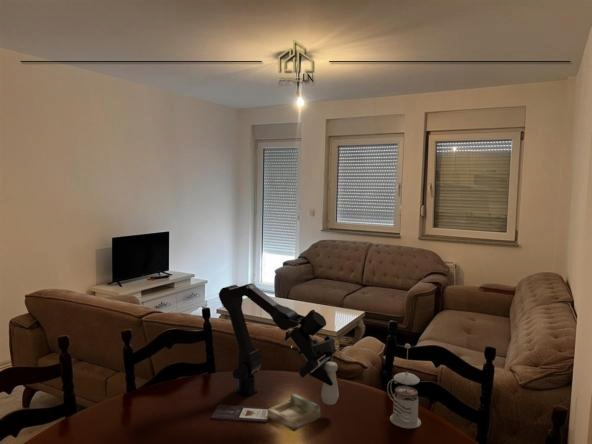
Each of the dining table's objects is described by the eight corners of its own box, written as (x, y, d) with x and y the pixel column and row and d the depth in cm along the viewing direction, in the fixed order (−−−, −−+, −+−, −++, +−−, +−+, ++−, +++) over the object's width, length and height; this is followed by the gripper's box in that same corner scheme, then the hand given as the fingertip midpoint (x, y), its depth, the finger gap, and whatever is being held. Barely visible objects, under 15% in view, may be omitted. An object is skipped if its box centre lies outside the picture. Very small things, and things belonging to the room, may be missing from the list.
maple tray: (267, 416, 138) (267, 404, 138) (293, 404, 147) (294, 393, 146) (293, 431, 130) (293, 418, 130) (319, 417, 138) (320, 405, 138)
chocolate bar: (218, 404, 145) (271, 407, 143) (218, 407, 145) (271, 410, 143) (210, 417, 136) (266, 421, 134) (210, 420, 136) (266, 424, 134)
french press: (409, 431, 131) (412, 351, 130) (379, 417, 139) (381, 341, 138) (427, 421, 137) (429, 344, 136) (396, 407, 146) (399, 335, 145)
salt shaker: (326, 407, 136) (327, 367, 135) (317, 399, 141) (318, 361, 140) (341, 403, 139) (343, 364, 138) (332, 396, 144) (333, 358, 143)
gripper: (308, 337, 132) (340, 380, 128) (332, 322, 149) (361, 360, 144) (285, 357, 136) (315, 399, 132) (311, 340, 153) (338, 377, 148)
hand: (334, 383), depth 139 cm, fingers closed on salt shaker, 3 cm apart
